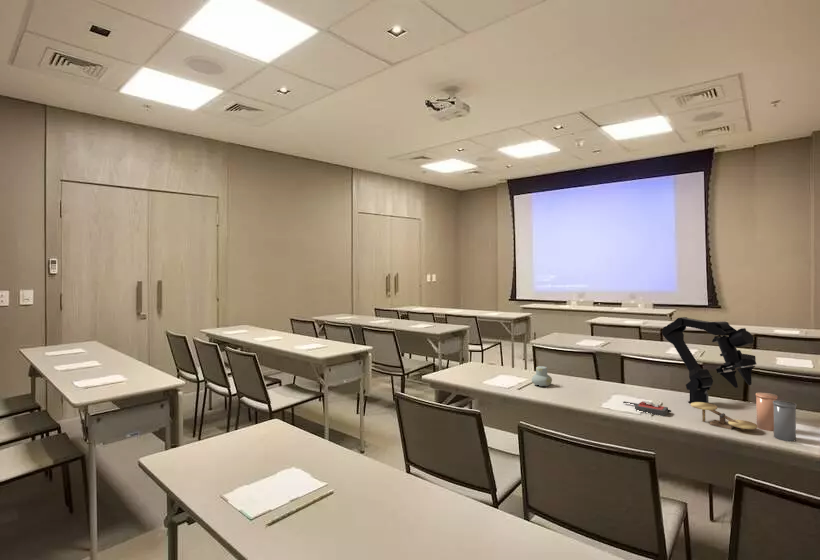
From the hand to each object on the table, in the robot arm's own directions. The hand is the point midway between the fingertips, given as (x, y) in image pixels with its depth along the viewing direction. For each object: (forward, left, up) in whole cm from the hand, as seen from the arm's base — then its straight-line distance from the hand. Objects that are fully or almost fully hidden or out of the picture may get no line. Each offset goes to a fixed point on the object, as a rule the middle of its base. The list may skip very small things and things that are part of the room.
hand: (743, 386), depth 186 cm
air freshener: (-87, -16, -13) cm, 90 cm away
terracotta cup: (+10, -9, -13) cm, 19 cm away
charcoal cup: (+17, -17, -13) cm, 27 cm away
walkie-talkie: (-31, -20, -13) cm, 39 cm away
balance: (-2, -18, -13) cm, 22 cm away
